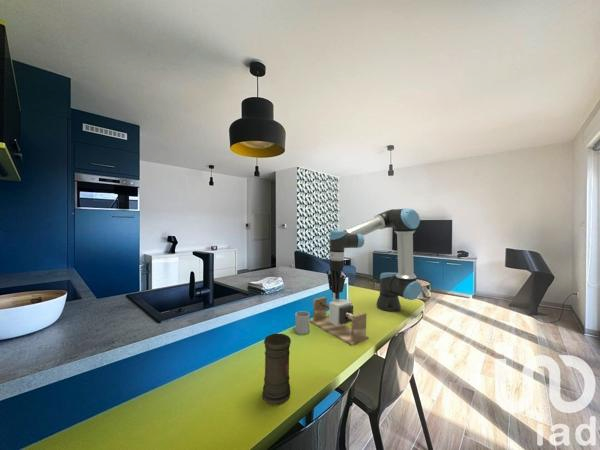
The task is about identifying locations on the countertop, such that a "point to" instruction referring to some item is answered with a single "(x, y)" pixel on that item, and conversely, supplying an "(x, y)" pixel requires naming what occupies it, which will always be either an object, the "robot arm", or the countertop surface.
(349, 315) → the pipe
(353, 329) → the stand
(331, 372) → the countertop surface
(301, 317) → the cup
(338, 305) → the sleeve
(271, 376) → the container
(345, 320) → the dark grey square plate
